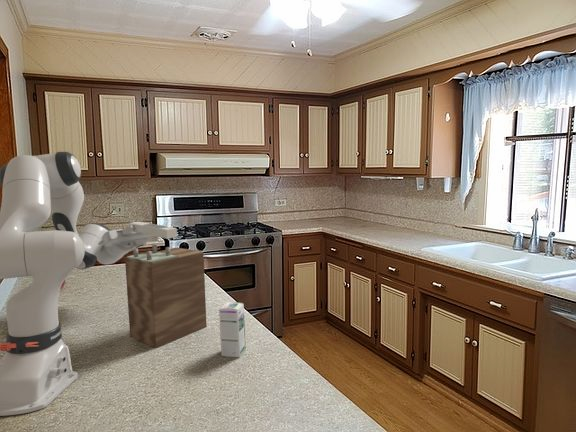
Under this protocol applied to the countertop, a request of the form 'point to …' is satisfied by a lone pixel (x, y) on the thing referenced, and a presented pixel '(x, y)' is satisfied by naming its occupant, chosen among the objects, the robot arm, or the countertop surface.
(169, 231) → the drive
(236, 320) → the syrup box
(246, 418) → the countertop surface
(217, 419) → the countertop surface
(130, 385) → the countertop surface
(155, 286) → the wooden peg block
